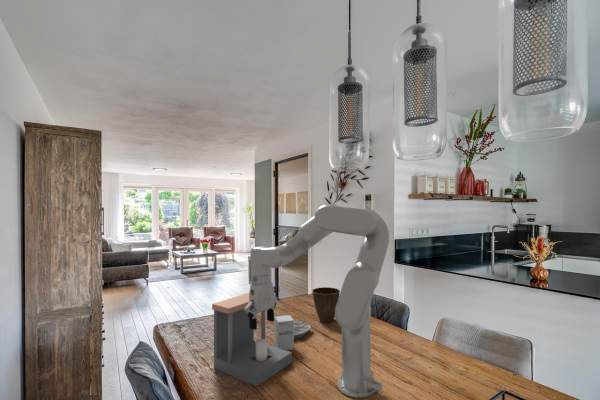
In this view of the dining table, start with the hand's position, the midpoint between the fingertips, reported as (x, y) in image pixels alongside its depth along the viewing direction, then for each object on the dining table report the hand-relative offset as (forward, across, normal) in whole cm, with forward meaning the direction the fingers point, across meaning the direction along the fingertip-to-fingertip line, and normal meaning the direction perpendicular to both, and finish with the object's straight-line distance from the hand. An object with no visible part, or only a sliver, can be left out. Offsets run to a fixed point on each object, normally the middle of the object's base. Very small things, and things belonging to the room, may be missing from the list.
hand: (262, 324), depth 118 cm
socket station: (+16, 0, +5) cm, 17 cm away
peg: (+16, 0, +1) cm, 16 cm away
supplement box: (+16, +19, +5) cm, 25 cm away
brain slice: (+17, +35, +12) cm, 40 cm away
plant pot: (+17, +58, +7) cm, 61 cm away
